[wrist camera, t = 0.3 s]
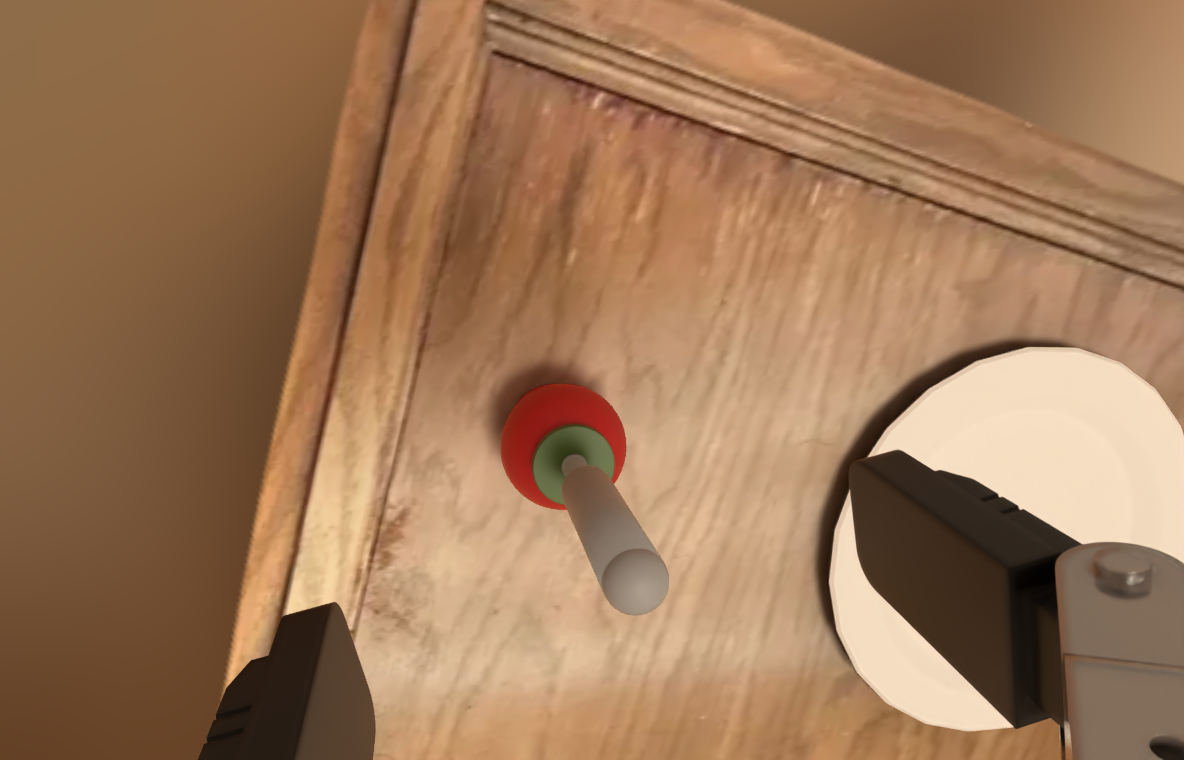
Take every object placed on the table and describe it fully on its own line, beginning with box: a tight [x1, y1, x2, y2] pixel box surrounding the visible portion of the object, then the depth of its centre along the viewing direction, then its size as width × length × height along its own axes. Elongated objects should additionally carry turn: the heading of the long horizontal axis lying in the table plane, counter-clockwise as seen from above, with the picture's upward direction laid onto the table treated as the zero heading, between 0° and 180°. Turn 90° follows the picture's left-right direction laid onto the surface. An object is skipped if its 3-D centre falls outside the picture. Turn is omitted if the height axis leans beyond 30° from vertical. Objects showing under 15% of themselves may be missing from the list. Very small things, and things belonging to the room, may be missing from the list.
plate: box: [827, 347, 1184, 731], centre depth 41 cm, size 21×21×2 cm
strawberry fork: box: [501, 384, 669, 615], centre depth 28 cm, size 5×5×16 cm
